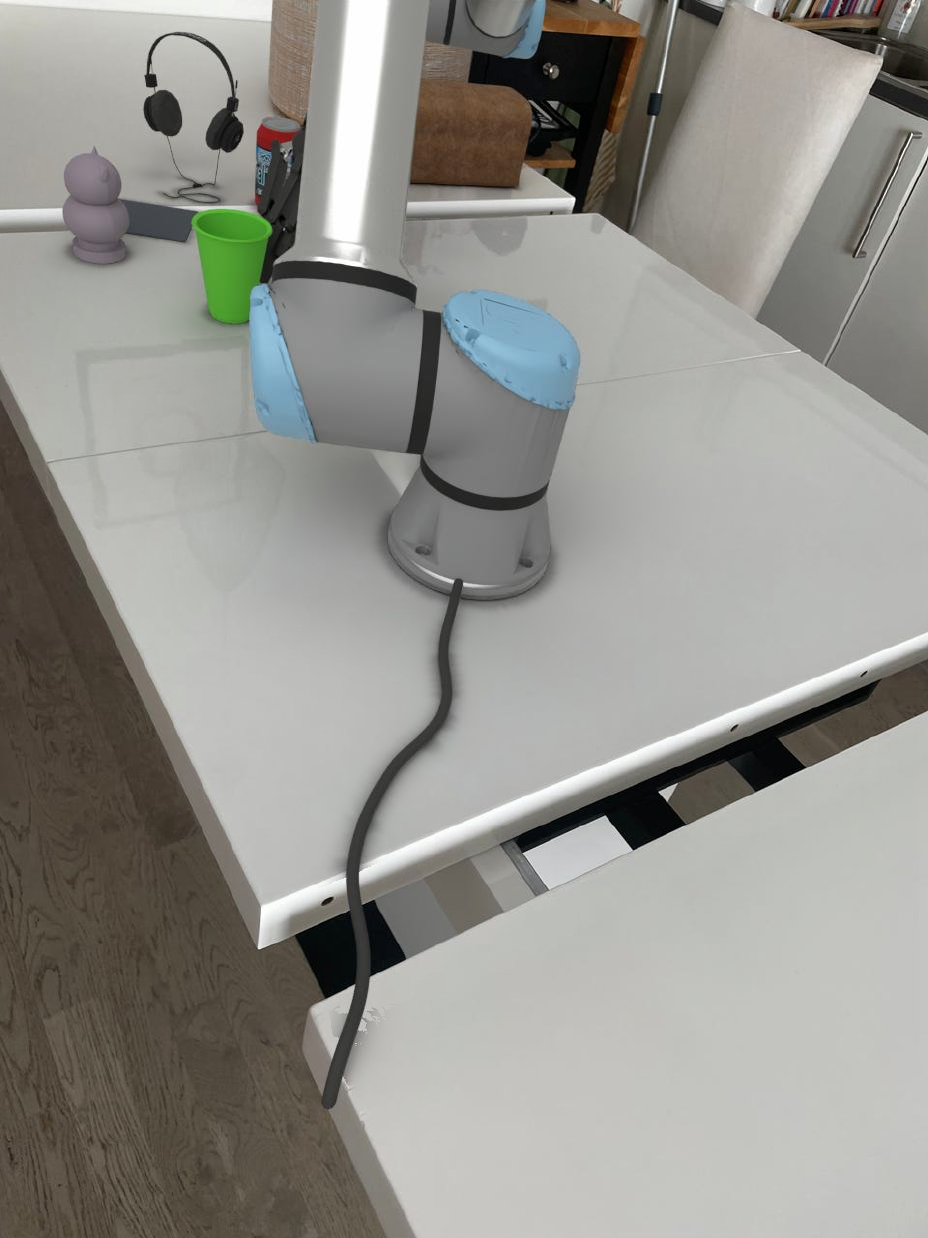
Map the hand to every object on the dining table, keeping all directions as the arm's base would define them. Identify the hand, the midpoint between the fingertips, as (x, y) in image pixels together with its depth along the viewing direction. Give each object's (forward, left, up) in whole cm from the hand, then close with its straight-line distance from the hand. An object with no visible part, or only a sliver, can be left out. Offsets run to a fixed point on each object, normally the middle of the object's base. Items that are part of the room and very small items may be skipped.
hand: (257, 277), depth 121 cm
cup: (-5, +3, -3) cm, 6 cm away
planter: (+85, -10, -3) cm, 86 cm away
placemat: (+20, +17, -3) cm, 27 cm away
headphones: (+35, +15, -3) cm, 38 cm away
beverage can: (+32, +1, -3) cm, 32 cm away
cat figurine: (+7, +21, -3) cm, 22 cm away
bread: (+60, -20, -3) cm, 63 cm away
